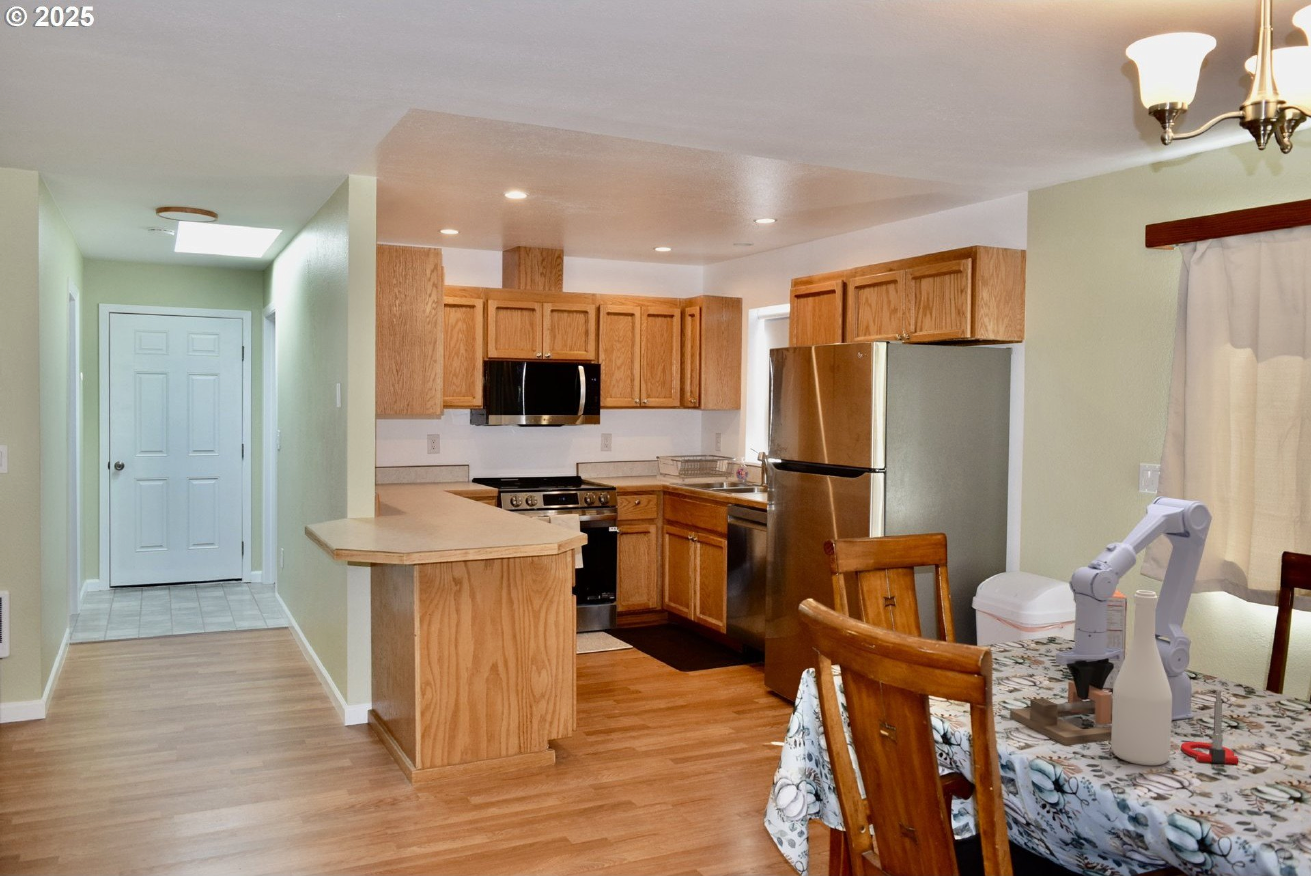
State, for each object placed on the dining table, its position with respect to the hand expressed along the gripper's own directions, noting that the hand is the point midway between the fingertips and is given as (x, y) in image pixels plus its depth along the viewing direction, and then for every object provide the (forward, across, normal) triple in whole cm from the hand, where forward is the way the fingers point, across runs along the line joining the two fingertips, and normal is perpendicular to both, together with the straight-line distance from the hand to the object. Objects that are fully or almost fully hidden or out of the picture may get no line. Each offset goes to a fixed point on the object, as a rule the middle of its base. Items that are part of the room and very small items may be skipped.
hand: (1088, 697), depth 193 cm
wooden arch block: (+4, 0, 0) cm, 4 cm away
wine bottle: (+6, +3, +16) cm, 18 cm away
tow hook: (+6, -10, +19) cm, 22 cm away
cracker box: (+6, -24, -23) cm, 34 cm away
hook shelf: (+5, 0, 0) cm, 5 cm away
